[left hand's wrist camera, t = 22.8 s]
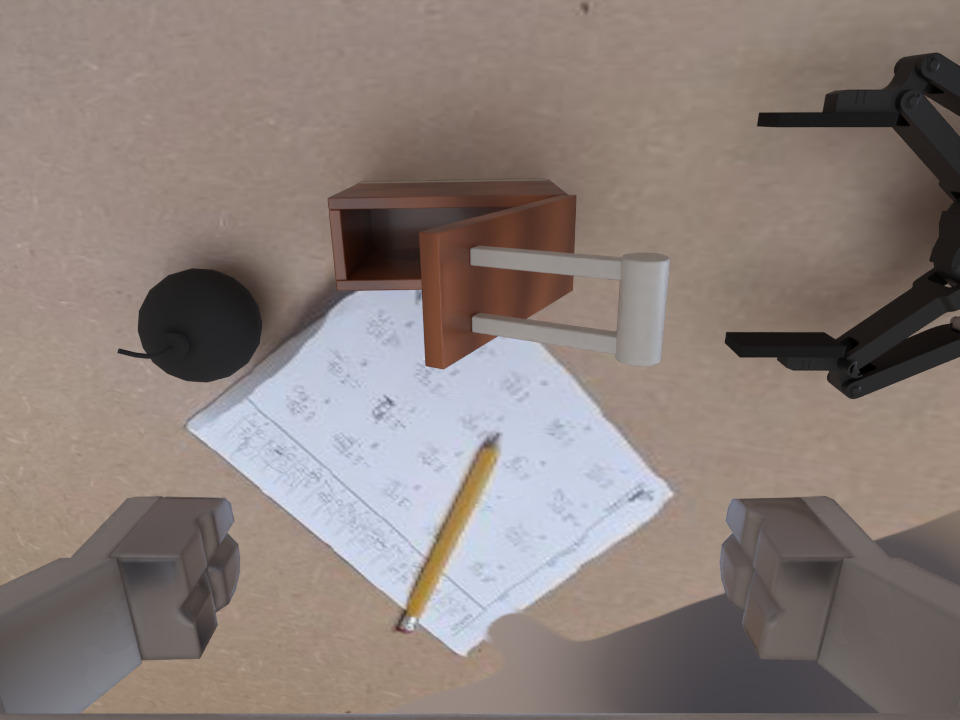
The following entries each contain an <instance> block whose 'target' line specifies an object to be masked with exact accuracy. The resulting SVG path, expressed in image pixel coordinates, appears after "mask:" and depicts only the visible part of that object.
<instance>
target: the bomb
mask: <svg viewBox="0 0 960 720" xmlns="http://www.w3.org/2000/svg"><path fill="white" fill-rule="evenodd" d="M261 329H262V320H261V316H260V312H259V307H258V305H257V303H256V302H255V300H254V299H253V297H252V295H251V294H250V292H249V291H248V290H247V289H246V288H245V287H244V286H243V285H241V284H240V283H239V282H238V281H237V280H235V279H234V278H232V277H230V276H228V275H225V274H223V273H220V272H218V271H215V270H206V269H189V270H185V271H182V272H178V273H175V274H171V275H168V276H167V277H166V278H164V279H163V280H162V281H161V282H159V283H158V284H157V285H156V286H155V287H153V288H152V289H151V290H150V291H149V293H148V295H147V296H146V298H145V300H144V302H143V304H142V306H141V308H140V310H139V320H138V333H139V336H140V339H141V343H142V346H143V349H144V350H145V352H146V353H147V354H143V353H135V352H131V351H127V350H123V349H119V350H118V352H117V353H119V354H124V355H128V356H132V357H137V358H146V359H151V360H152V361H153V363H154V364H156V365H157V366H158V367H160V368H161V369H162V370H163V371H165V372H166V373H167V374H170V375H172V376H175V377H177V378H180V379H182V380H186V381H194V382H211V381H214V380H218V379H222V378H226V377H229V376H231V375H232V374H234V373H235V372H236V371H238V370H239V369H240V368H242V367H243V366H244V365H246V364H247V363H248V362H249V361H250V359H251V357H252V356H253V354H254V352H255V351H256V349H257V347H258V345H259V344H260V336H261Z"/></svg>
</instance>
